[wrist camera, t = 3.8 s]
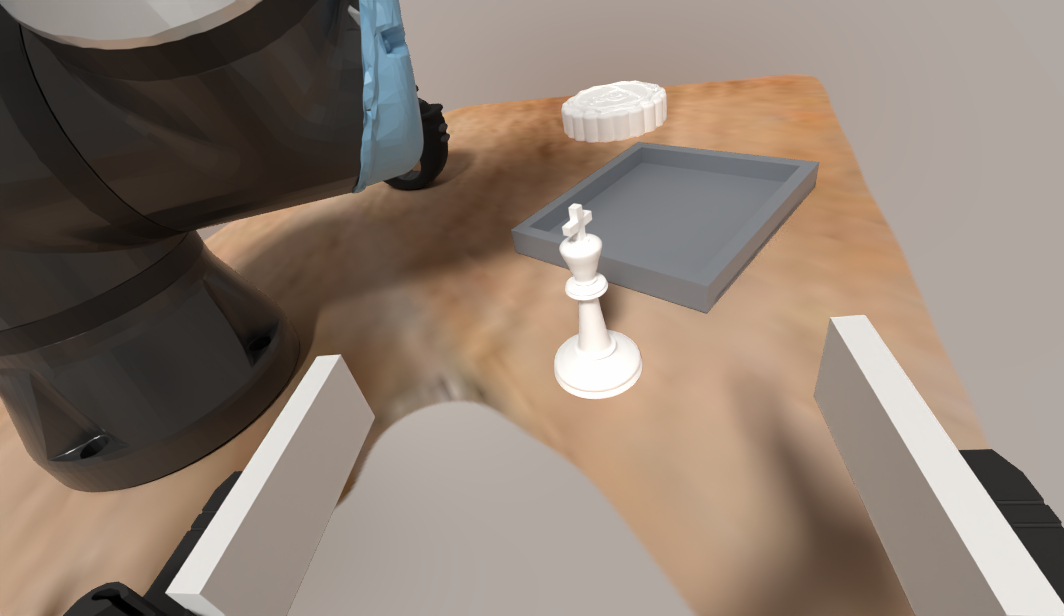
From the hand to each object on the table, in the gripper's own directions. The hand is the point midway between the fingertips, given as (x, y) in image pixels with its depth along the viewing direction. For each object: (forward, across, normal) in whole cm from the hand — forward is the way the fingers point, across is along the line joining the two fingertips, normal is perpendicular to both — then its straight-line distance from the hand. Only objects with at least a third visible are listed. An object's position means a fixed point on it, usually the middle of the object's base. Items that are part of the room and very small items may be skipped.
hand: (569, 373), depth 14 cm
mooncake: (+51, +2, -10) cm, 52 cm away
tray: (+26, +5, -10) cm, 29 cm away
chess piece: (+11, 0, -10) cm, 15 cm away
